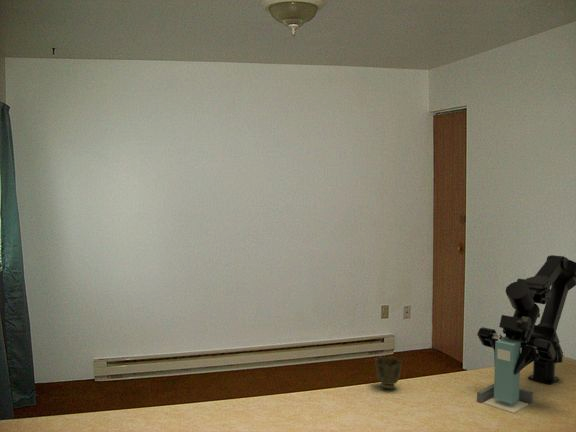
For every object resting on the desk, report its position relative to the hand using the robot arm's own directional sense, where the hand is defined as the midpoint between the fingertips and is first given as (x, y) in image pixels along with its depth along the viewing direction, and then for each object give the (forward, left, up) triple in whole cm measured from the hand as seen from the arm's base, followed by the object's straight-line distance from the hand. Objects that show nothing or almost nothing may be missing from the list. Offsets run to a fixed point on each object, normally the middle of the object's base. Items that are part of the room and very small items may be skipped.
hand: (504, 371), depth 137 cm
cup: (+13, -27, -9) cm, 31 cm away
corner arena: (-3, -1, -9) cm, 9 cm away
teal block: (-1, 0, -8) cm, 8 cm away
